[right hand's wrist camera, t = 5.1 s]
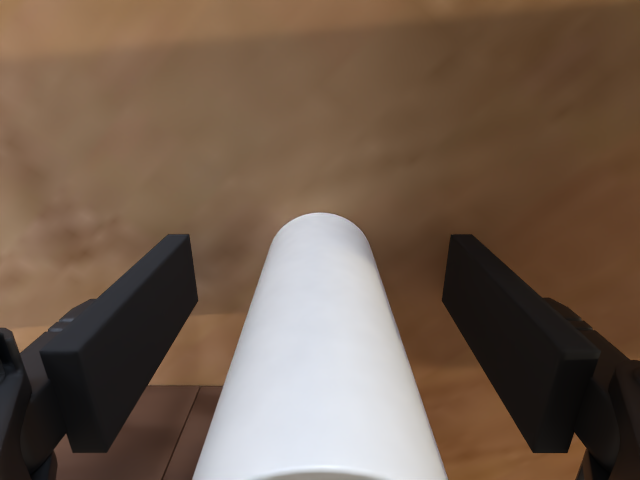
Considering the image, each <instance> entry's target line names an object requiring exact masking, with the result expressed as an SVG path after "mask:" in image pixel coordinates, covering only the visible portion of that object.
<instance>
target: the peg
mask: <svg viewBox="0 0 640 480" xmlns="http://www.w3.org/2000/svg"><path fill="white" fill-rule="evenodd" d="M192 480H448V477H447V474H446V471H445V468H444V465H443V462H442V459H441V456H440V453H439V450H438V447H437V444H436V441H435V438H434V435H433V432H432V429H431V426H430V423H429V420H428V417H427V414H426V411H425V408H424V405H423V402H422V399H421V397H420V394H419V391H418V388H417V385H416V382H415V379H414V376H413V373H412V370H411V367H410V364H409V361H408V358H407V355H406V352H405V349H404V346H403V343H402V340H401V337H400V334H399V331H398V328H397V325H396V322H395V319H394V316H393V313H392V310H391V307H390V304H389V301H388V298H387V295H386V292H385V289H384V286H383V283H382V280H381V277H380V274H379V271H378V268H377V265H376V262H375V259H374V256H373V253H372V250H371V247H370V244H369V242H368V240H367V238H366V237H365V235H364V234H363V232H362V231H361V230H360V229H359V228H358V227H357V226H356V225H355V224H354V223H352V222H350V221H349V220H347V219H345V218H343V217H341V216H338V215H335V214H330V213H310V214H306V215H302V216H299V217H297V218H295V219H293V220H291V221H290V222H288V223H287V224H286V225H285V226H283V227H282V228H281V229H280V230H279V232H278V233H277V234H276V236H275V237H274V239H273V241H272V243H271V245H270V248H269V251H268V254H267V257H266V260H265V263H264V266H263V269H262V272H261V275H260V278H259V281H258V284H257V287H256V290H255V293H254V296H253V299H252V302H251V305H250V308H249V311H248V314H247V317H246V320H245V323H244V326H243V329H242V332H241V335H240V338H239V341H238V344H237V347H236V350H235V353H234V356H233V359H232V362H231V365H230V368H229V371H228V374H227V377H226V380H225V383H224V386H223V389H222V392H221V395H220V398H219V401H218V404H217V407H216V410H215V413H214V416H213V419H212V422H211V425H210V428H209V431H208V434H207V437H206V440H205V443H204V446H203V449H202V451H201V454H200V457H199V460H198V463H197V466H196V469H195V472H194V475H193V478H192Z"/></svg>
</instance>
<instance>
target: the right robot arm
mask: <svg viewBox="0 0 640 480" xmlns="http://www.w3.org/2000/svg"><path fill="white" fill-rule="evenodd" d="M197 302H198V296H197V288H196V281H195V273H194V266H193V259H192V251H191V244H190V237H189V234H168V235H167V236H166V237H165V238H164V239H163V240H161V241H160V242H159V243H158V244H157V245H156V246H155V247H154V248H153V249H151V250H150V251H149V252H148V253H147V254H146V255H145V256H144V257H143V258H142V259H140V260H139V261H138V262H137V263H136V264H135V265H134V266H133V267H132V268H130V269H129V270H128V271H127V272H126V273H125V274H124V275H123V276H122V277H120V278H119V279H118V280H117V281H116V282H115V283H114V284H113V285H112V286H110V287H109V288H108V289H107V290H106V291H105V292H104V293H103V294H102V295H101V296H99V297H98V298H97V299H90V300H88V301H86V302H84V303H82V304H80V305H78V306H76V307H75V308H73V309H71V310H70V311H69V312H68V313H67V314H65V315H64V316H63V317H62V318H61V319H60V320H59V322H56V323H55V324H54V325H53V326H51V327H50V328H49V329H48V332H44V333H43V334H42V335H41V336H40V337H39V338H37V339H36V340H35V341H34V342H33V343H31V344H30V345H29V346H28V347H27V348H26V349H24V350H23V351H22V352H21V353H19V350H18V347H17V344H16V342H15V339H14V336H13V333H12V331H10V330H8V329H6V328H0V480H56V474H57V467H58V463H57V457H56V454H55V451H54V449H55V447H56V446H57V445H58V443H59V442H60V441H61V439H62V438H63V437H64V435H65V434H66V435H67V438H68V441H69V444H70V447H71V450H72V453H107V452H108V450H109V449H110V447H111V445H112V444H113V442H114V440H115V439H116V437H117V435H118V434H119V432H120V430H121V429H122V427H123V425H124V424H125V422H126V420H127V419H128V417H129V415H130V414H131V412H132V410H133V409H134V407H135V405H136V404H137V402H138V400H139V399H140V397H141V395H142V394H143V392H144V390H145V389H146V387H147V385H148V384H149V382H150V380H151V379H152V377H153V375H154V374H155V372H156V370H157V368H158V367H159V365H160V363H161V362H162V360H163V358H164V357H165V355H166V353H167V352H168V350H169V348H170V347H171V345H172V343H173V342H174V340H175V338H176V337H177V335H178V333H179V332H180V330H181V328H182V327H183V325H184V323H185V322H186V320H187V318H188V317H189V315H190V313H191V312H192V310H193V308H194V307H195V305H196V303H197ZM442 302H443V303H444V305H445V307H446V308H447V310H448V312H449V313H450V315H451V317H452V318H453V320H454V322H455V323H456V325H457V327H458V328H459V330H460V332H461V333H462V335H463V337H464V338H465V340H466V342H467V343H468V345H469V347H470V348H471V350H472V352H473V353H474V355H475V357H476V358H477V360H478V362H479V363H480V365H481V367H482V368H483V370H484V372H485V373H486V375H487V377H488V379H489V380H490V382H491V384H492V385H493V387H494V389H495V390H496V392H497V394H498V395H499V397H500V399H501V400H502V402H503V404H504V405H505V407H506V409H507V410H508V412H509V414H510V415H511V417H512V419H513V420H514V422H515V424H516V425H517V427H518V429H519V430H520V432H521V434H522V435H523V437H524V439H525V440H526V442H527V444H528V445H529V447H530V449H531V450H532V452H533V453H568V450H569V447H570V444H571V441H572V438H573V435H574V432H575V433H576V435H577V436H578V437H579V439H580V440H581V441H582V443H583V444H584V445H585V447H586V448H587V449H586V451H585V454H584V457H583V460H582V463H581V465H580V468H579V471H578V474H577V477H576V480H640V361H637V360H630V359H628V358H627V357H626V356H625V355H624V354H623V353H621V352H620V351H619V350H618V349H617V348H615V347H614V346H613V345H612V344H611V343H610V342H608V341H607V340H606V339H605V338H604V337H602V336H601V335H600V334H599V333H598V332H597V331H595V330H592V327H591V326H589V325H588V324H587V323H586V322H585V321H581V318H580V317H579V316H578V315H576V314H575V313H574V312H573V311H572V310H571V309H569V308H568V307H566V306H564V305H563V304H561V303H559V302H557V301H555V300H553V299H551V298H542V297H541V296H539V295H538V294H537V293H536V292H535V291H534V290H533V289H532V288H531V287H530V286H528V285H527V284H526V283H525V282H524V281H523V280H522V279H521V278H520V277H518V276H517V275H516V274H515V273H514V272H513V271H512V270H511V269H510V268H508V267H507V266H506V265H505V264H504V263H503V262H502V261H501V260H500V259H499V258H497V257H496V256H495V255H494V254H493V253H492V252H491V251H490V250H489V249H487V248H486V247H485V246H484V245H483V244H482V243H481V242H480V241H479V240H477V239H476V238H475V237H474V236H473V235H472V234H451V237H450V244H449V251H448V259H447V266H446V274H445V281H444V288H443V296H442Z"/></svg>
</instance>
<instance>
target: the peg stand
mask: <svg viewBox="0 0 640 480" xmlns="http://www.w3.org/2000/svg"><path fill="white" fill-rule="evenodd" d="M222 389H223V386H202V387H201V388H200V386H147V387H146V389H145V390H144V392H143V394H142V395H141V397H140V399H139V400H138V402H137V404H136V405H135V407H134V409H133V410H132V412H131V414H130V415H129V417H128V419H127V420H126V422H125V424H124V425H123V427H122V429H121V430H120V432H119V434H118V435H117V437H116V439H115V440H114V442H113V444H112V445H111V447H110V449H109V450H108V452H107V453H72V450H71V447H70V444H69V441H68V438H67V435H66V434H65V435H64V437H63V438H62V439H61V441H60V442H59V443H58V445H57V446H56V447H55V449H54V451H55V454H56V457H57V463H58V467H57V474H56V480H192V478H193V475H194V472H195V469H196V466H197V463H198V460H199V457H200V454H201V451H202V449H203V446H204V443H205V440H206V437H207V434H208V431H209V428H210V425H211V422H212V419H213V416H214V413H215V410H216V407H217V404H218V401H219V398H220V395H221V392H222Z"/></svg>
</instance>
